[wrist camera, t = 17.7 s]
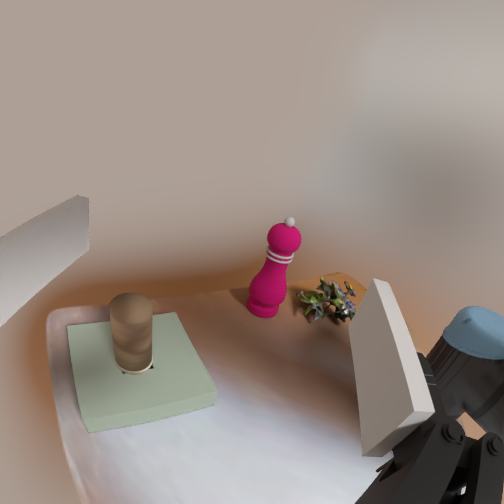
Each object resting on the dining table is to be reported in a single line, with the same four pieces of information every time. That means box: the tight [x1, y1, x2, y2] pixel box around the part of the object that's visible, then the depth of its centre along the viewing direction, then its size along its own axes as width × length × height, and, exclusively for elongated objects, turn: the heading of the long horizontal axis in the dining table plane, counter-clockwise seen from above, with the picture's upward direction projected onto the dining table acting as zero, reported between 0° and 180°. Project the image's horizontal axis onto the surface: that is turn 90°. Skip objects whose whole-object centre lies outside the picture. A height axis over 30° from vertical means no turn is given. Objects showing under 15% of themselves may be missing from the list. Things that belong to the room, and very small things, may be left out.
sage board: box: [67, 312, 218, 433], centre depth 37 cm, size 18×16×4 cm
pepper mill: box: [247, 217, 301, 318], centre depth 54 cm, size 7×7×20 cm
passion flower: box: [296, 277, 356, 323], centre depth 59 cm, size 11×11×12 cm
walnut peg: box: [109, 293, 153, 375], centre depth 34 cm, size 5×5×13 cm
